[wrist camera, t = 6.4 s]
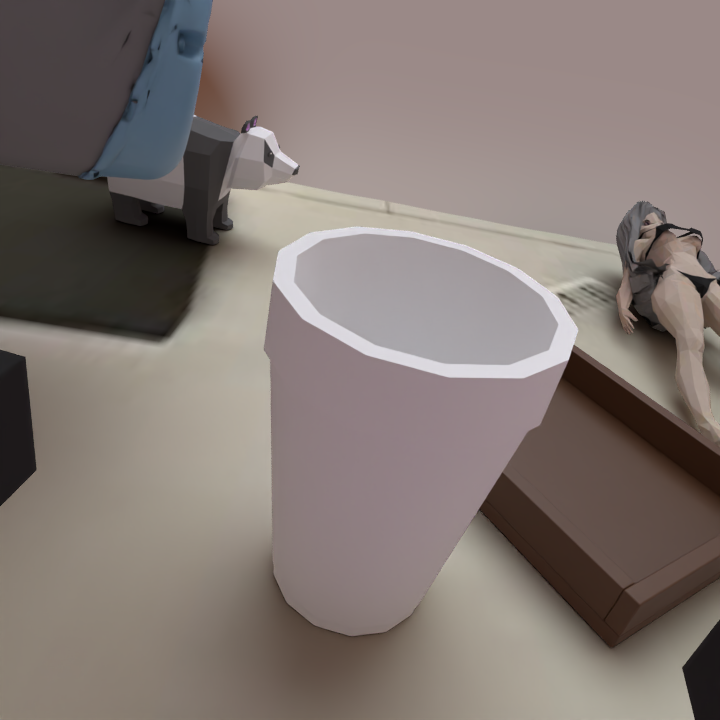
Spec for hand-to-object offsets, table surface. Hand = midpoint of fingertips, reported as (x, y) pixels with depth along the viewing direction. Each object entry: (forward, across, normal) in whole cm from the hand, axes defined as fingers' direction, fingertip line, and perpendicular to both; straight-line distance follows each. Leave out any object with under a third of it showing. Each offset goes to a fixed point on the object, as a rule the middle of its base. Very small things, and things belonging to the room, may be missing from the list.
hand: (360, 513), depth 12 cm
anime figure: (+40, +20, -13) cm, 46 cm away
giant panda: (+38, -20, -13) cm, 45 cm away
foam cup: (+10, 0, -13) cm, 16 cm away
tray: (+21, +10, -13) cm, 26 cm away
